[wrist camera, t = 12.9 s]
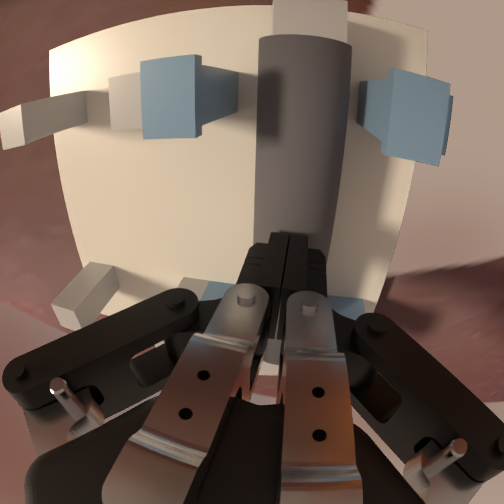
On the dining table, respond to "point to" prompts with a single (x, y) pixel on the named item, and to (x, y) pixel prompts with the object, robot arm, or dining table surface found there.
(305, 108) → the dark grey dowel
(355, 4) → the dining table surface
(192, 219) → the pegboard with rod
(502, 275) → the dining table surface
